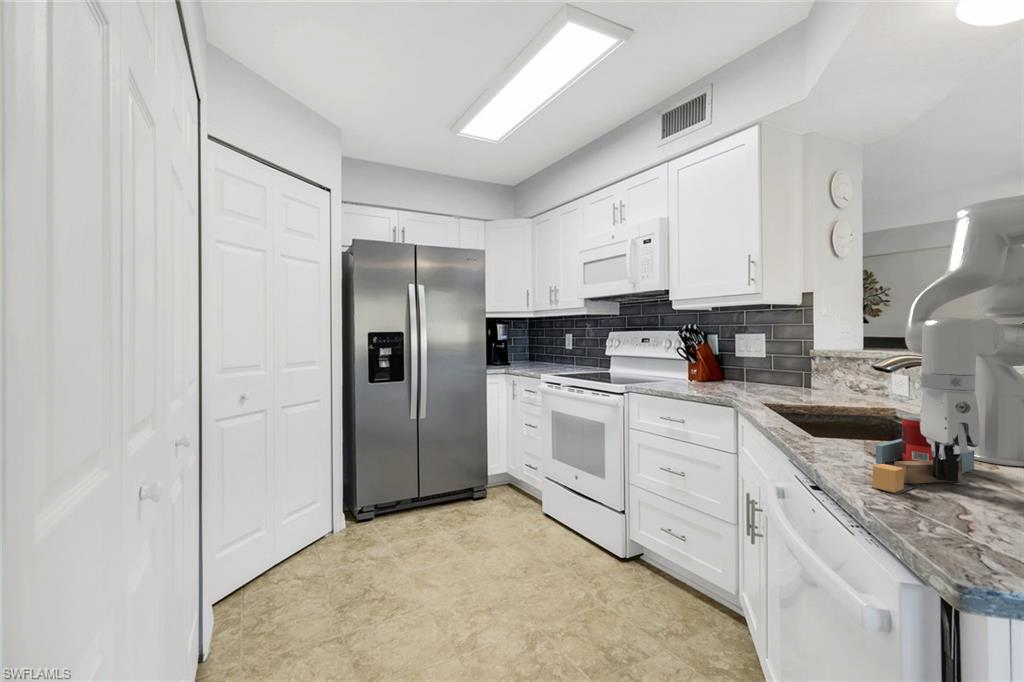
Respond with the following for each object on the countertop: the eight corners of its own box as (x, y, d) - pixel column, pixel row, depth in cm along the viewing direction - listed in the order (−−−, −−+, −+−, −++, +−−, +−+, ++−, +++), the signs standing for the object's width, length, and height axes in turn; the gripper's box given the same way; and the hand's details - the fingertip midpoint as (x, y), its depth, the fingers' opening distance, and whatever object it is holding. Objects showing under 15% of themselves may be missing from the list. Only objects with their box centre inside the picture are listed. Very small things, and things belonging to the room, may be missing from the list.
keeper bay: (901, 454, 112) (901, 438, 112) (974, 468, 101) (974, 450, 101) (875, 462, 106) (876, 445, 105) (950, 478, 94) (950, 458, 94)
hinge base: (946, 477, 94) (946, 476, 94) (972, 483, 91) (972, 481, 91) (938, 480, 92) (938, 479, 92) (964, 486, 89) (964, 485, 89)
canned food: (958, 471, 99) (959, 420, 99) (915, 469, 100) (916, 418, 100) (933, 461, 106) (934, 414, 106) (893, 459, 108) (894, 412, 108)
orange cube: (881, 483, 90) (881, 463, 90) (903, 489, 87) (903, 468, 86) (872, 486, 88) (872, 466, 88) (894, 492, 85) (895, 470, 85)
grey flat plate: (895, 479, 93) (895, 478, 93) (920, 485, 90) (920, 484, 90) (872, 487, 88) (872, 486, 88) (897, 494, 85) (897, 492, 85)
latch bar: (952, 477, 93) (953, 454, 93) (966, 481, 91) (966, 457, 90) (894, 479, 92) (894, 456, 92) (906, 483, 89) (906, 459, 89)
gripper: (1000, 388, 79) (997, 494, 80) (948, 380, 94) (945, 470, 94) (946, 386, 82) (944, 489, 82) (903, 379, 96) (901, 467, 96)
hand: (945, 479), depth 88 cm, fingers closed
